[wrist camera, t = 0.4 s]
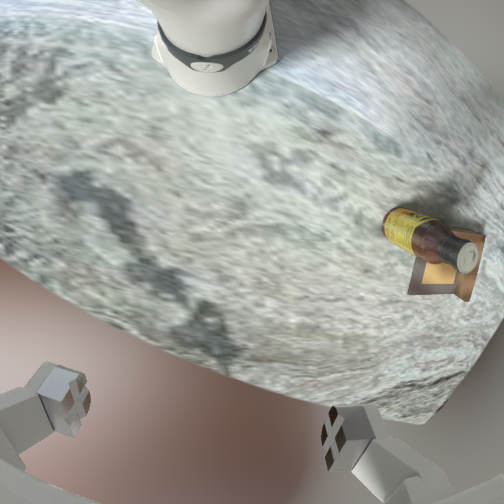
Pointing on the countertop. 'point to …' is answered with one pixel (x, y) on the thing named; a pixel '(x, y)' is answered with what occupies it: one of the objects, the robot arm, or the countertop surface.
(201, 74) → the robot arm
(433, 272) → the corner arena
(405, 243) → the sauce bottle
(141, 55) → the countertop surface
